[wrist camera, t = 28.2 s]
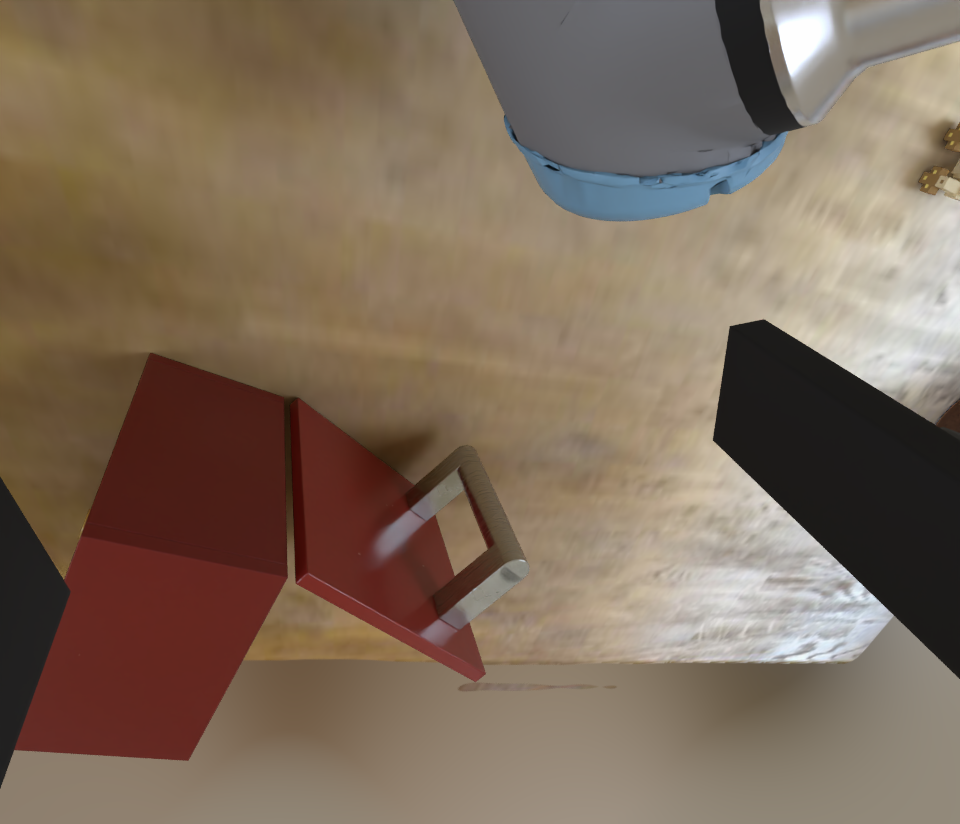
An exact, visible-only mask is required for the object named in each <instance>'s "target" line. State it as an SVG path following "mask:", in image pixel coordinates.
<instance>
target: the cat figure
mask: <svg viewBox="0 0 960 824" xmlns="http://www.w3.org/2000/svg"><path fill="white" fill-rule="evenodd" d="M943 140H945V141H948V143H947V145H946V146H945V148H946V149H948V150H951V151H955V152H960V123H959V124H958V126H957V128H956V129H949V131H948V132H947V134H946V136H945V137H944V139H943ZM948 173H949V170H947V169H944V168H942V167H937V166H934V167H933V168H932V170H931V172H930V173H928V172H924V173H923V175H922V177H921V178H920V180H919V183H922V184H923V185H922V187H921V189H920V191H923V192H925V193H928V194H932V195H936V193H937V191H938V190H939V189H941V190H944V191H945V192H946V193H945V194H944V195H945V196H948V197H950V198H953V199H956V200H960V159H959V161H958V162H957V164H956V166H955V167H954V169H953V171H952V172H951V173H952V174H953V176H952V178H954V179H952V178H950V177H946V176H947V175H948Z"/></svg>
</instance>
